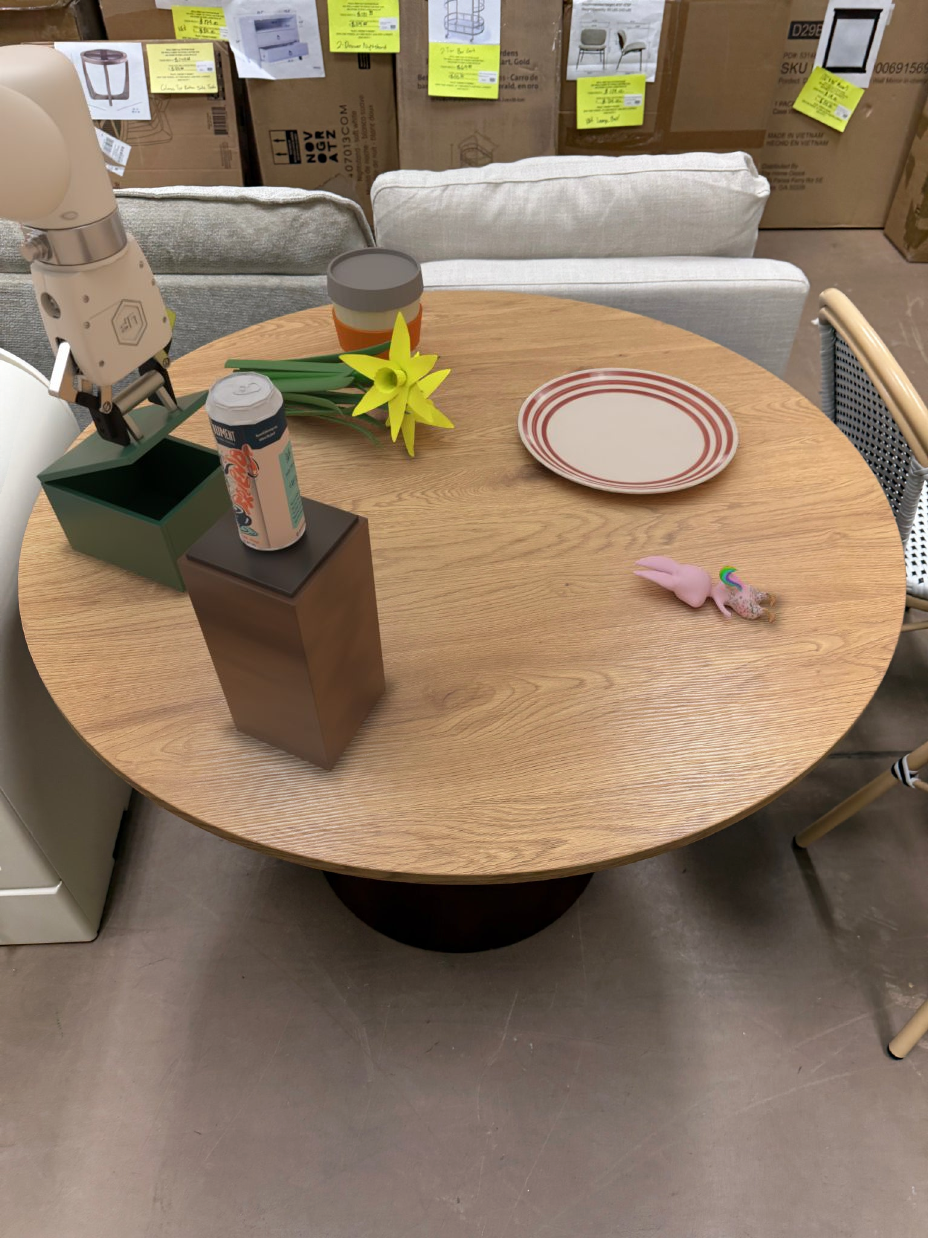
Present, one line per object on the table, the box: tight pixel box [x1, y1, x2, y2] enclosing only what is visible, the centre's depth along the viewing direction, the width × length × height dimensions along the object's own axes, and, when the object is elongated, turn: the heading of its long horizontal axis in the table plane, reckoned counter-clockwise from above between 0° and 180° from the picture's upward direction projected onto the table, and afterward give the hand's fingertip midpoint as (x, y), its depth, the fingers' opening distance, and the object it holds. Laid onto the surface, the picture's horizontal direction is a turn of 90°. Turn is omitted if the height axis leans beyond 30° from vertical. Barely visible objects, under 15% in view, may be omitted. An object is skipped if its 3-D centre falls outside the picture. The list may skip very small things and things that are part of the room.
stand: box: [177, 495, 387, 772], centre depth 68 cm, size 10×10×22 cm
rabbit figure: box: [632, 555, 779, 624], centre depth 84 cm, size 6×6×15 cm
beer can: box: [204, 372, 306, 550], centre depth 55 cm, size 5×5×12 cm
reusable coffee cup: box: [326, 246, 425, 361], centre depth 109 cm, size 13×13×15 cm
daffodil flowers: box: [223, 311, 455, 458], centre depth 100 cm, size 17×15×35 cm
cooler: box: [40, 434, 232, 593], centre depth 88 cm, size 15×12×10 cm
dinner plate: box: [517, 367, 740, 495], centre depth 103 cm, size 27×27×3 cm
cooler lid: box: [36, 370, 210, 483], centre depth 80 cm, size 16×12×5 cm
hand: (140, 420), depth 79 cm, fingers closed on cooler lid, 6 cm apart
